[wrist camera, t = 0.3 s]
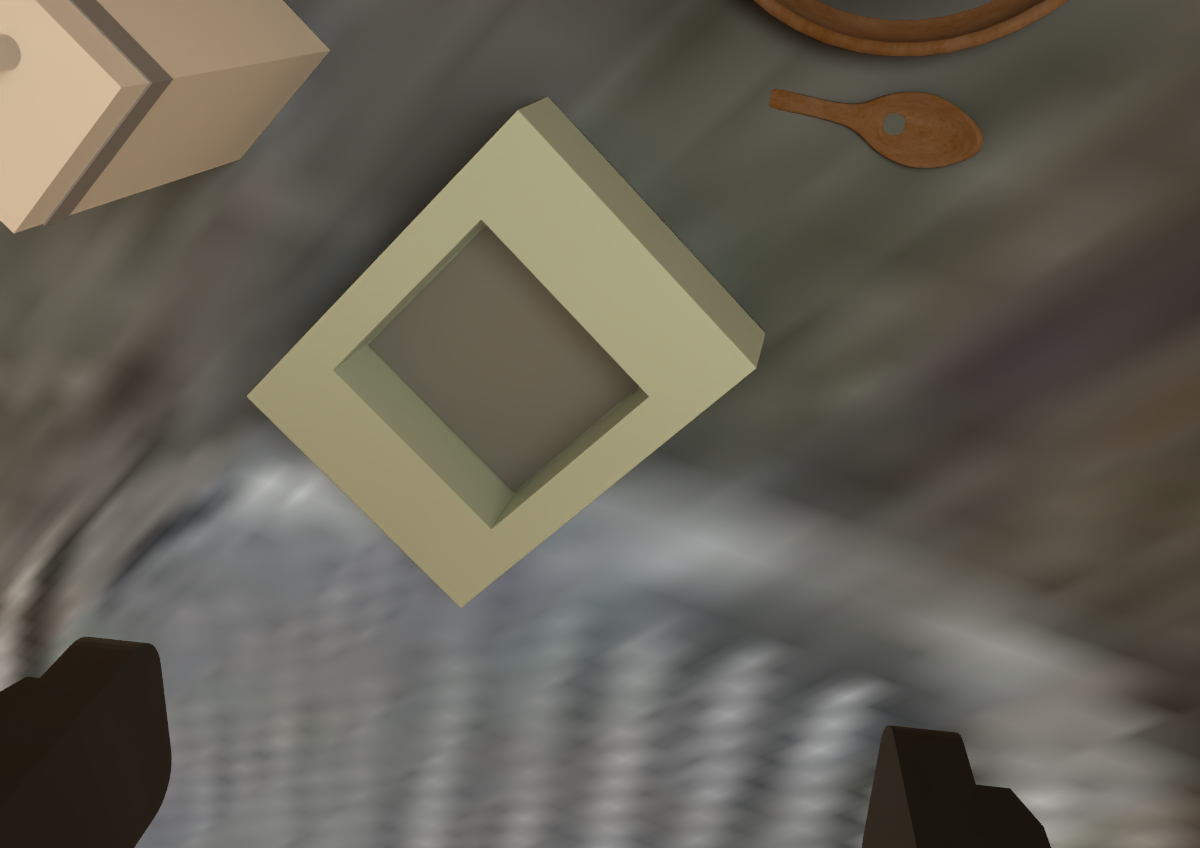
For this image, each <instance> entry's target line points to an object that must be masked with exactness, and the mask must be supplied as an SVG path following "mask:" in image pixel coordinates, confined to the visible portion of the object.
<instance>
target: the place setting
mask: <svg viewBox="0 0 1200 848" xmlns="http://www.w3.org/2000/svg"><path fill="white" fill-rule="evenodd" d="M754 1H755V2H756V3H757V4H759V5H760V6H761V7H762V8H763V9H765V10H766V11H767V12H768V13H769V14H771V15H772V16H774V17H776V18H777V19H779V20H781V21H782V22H784V23H785V24H787V25H789V26H790V27H792V28H793V29H795V30H797V31H799V32H801V33H804V34H806V35H808V36H810V37H813V38H815V39H817V40H819V41H822V42H824V43H827V44H830V45H834V46H837V47H841V48H844V49H848V50H851V51H855V52H862V53H869V54H876V55H884V56H924V55H932V54H940V53H947V52H954V51H958V50H962V49H965V48H969V47H973V46H977V45H981V44H985V43H988V42H990V41H993V40H995V39H998V38H1000V37H1003V36H1005V35H1008V34H1010V33H1013V32H1015V31H1018V30H1020V29H1022V28H1023V27H1025V26H1027V25H1029V24H1031V23H1033V22H1034V21H1036V20H1038V19H1040V18H1042V17H1044V16H1045V15H1047V14H1049V13H1051V12H1052V11H1054V10H1055V9H1056V8H1058V7H1059V6H1061V5H1062V4H1064V3H1065V2H1066V1H1068V0H994V1H992V2H989V3H987V4H984V5H982V6H980V7H977V8H975V9H971V10H968V11H964V12H960V13H957V14H953V15H949V16H945V17H938V18H931V19H924V20H884V19H876V18H868V17H862V16H859V15H855V14H851V13H848V12H844V11H840V10H837V9H835V8H833V7H830V6H828V5H826V4H824V3H821V2H819V1H817V0H754ZM769 106H770V107H772V108H775V109H779V110H783V111H788V112H793V113H798V114H803V115H808V116H812V117H817V118H821V119H825V120H829V121H833V122H836V123H839V124H842V125H844V126H847V127H849V128H851V129H852V130H854V131H856V132H857V133H858V134H859V135H860V136H861V137H862V138H863V139H864V140H865V141H866V142H867V143H868V144H869V145H870V146H871V147H872V148H873V149H875V150H876V151H877V152H879V153H880V154H881V155H883V156H884V157H886V158H888V159H890V160H892V161H894V162H896V163H899V164H901V165H905V166H909V167H914V168H935V167H942V166H947V165H951V164H955V163H958V162H961V161H963V160H966V159H968V158H970V157H972V156H974V155H976V154H977V153H978V152H979V151H980V148H981V146H982V142H983V134H982V132H981V130H980V129H979V127H978V126H977V125H976V123H975V122H974V121H973V120H972V119H971V118H970V117H969V116H968V115H967V114H966V113H965V112H963V111H962V110H961V109H960V108H958V107H957V106H955V105H954V104H952V103H951V102H949V101H947V100H945V99H943V98H941V97H938V96H936V95H933V94H928V93H923V92H901V93H895V94H889V95H885V96H882V97H879V98H876V99H873V100H871V101H867V102H864V103H857V104H849V103H840V102H833V101H828V100H823V99H819V98H815V97H810V96H806V95H802V94H798V93H794V92H789V91H784V90H778V89H774V90H772V93H771V97H770V102H769ZM889 113H898V114H900V115H902V116H904V118H905V120H906V123H905V127H904V130H903V132H902V133H901V134H899V135H889V134H887V133H885V132H884V131H883V122H884V119H885V117H886V116H887V114H889Z"/></svg>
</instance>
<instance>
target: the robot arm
mask: <svg viewBox="0 0 1200 848" xmlns="http://www.w3.org/2000/svg"><path fill="white" fill-rule="evenodd" d="M170 773H171V746H170V738H169V730H168V721H167V713H166V705H165V696H164V688H163V680H162V671H161V663H160V658H159V654H158V652H157V650H156V648H155V647H154V646H153V645H151V644H149V643H140V642H131V641H121V640H112V639H103V638H94V637H82V638H80V639H78V640H76V641H75V642H74V643H73V644H72V645H71V646H70V647H69V648H68V649H67V650H66V651H65V652H64V653H63V654H62V655H61V656H60V657H59V658H58V659H57V661H56V662H55V663H54V664H53V665H52V666H51V667H50V668H49V669H48V670H47V671H46V672H45V673H44V674H43V675H42V676H41V677H40V678H33V677H25V678H23V679H22V680H20V681H18V682H16V683H15V684H13V685H11V686H10V687H8V688H6V689H4V690H3V691H1V692H0V848H134V847H135V846H136V844H137V843H138V841H139V840H140V838H141V837H142V835H143V834H144V832H145V831H146V829H147V828H148V826H149V825H150V823H151V822H152V820H153V819H154V817H155V816H156V814H157V812H158V810H159V808H160V806H161V804H162V802H163V799H164V797H165V794H166V791H167V787H168V783H169V779H170ZM862 848H1051V846H1050V844H1049V841H1048V838H1047V835H1046V832H1045V830H1044V827H1043V826H1042V825H1041V823H1040V822H1039V821H1038V820H1037V819H1036V818H1035V817H1034V815H1033V814H1032V813H1031V812H1030V811H1029V810H1028V809H1027V807H1026V806H1025V805H1024V804H1023V803H1022V802H1021V801H1020V799H1019V798H1018V797H1017V796H1016V795H1015V794H1014V793H1013V791H1012V790H1011V789H1010V788H1001V787H992V786H983V785H976V784H975V780H974V777H973V774H972V770H971V767H970V763H969V760H968V757H967V753H966V750H965V746H964V743H963V740H962V738H961V736H960V735H959V734H958V733H955V732H945V731H936V730H927V729H917V728H908V727H899V726H890V725H888V726H886V728H885V729H884V732H883V735H882V738H881V743H880V748H879V754H878V759H877V765H876V770H875V776H874V781H873V787H872V792H871V797H870V803H869V808H868V814H867V819H866V825H865V830H864V836H863V843H862Z"/></svg>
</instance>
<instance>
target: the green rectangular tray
mask: <svg viewBox="0 0 1200 848" xmlns="http://www.w3.org/2000/svg"><path fill="white" fill-rule="evenodd" d="M764 337H765V333H764V332H763V330H762V329H761V328H760V327H759V326H758V325H757V324H756V323H755V322H754V321H753V320H752V318H751V317H750V316H749V315H748V314H747V313H746V312H745V311H744V310H743V309H742V308H741V306H740V305H739V304H738V303H737V302H736V301H735V300H734V299H733V298H732V297H731V296H730V294H729V293H728V292H727V291H726V290H725V289H724V288H723V287H722V286H721V285H720V284H719V283H718V281H717V280H716V279H715V278H714V277H713V276H712V275H711V274H710V273H709V272H708V271H707V269H706V268H705V267H704V266H703V265H702V264H701V263H700V262H699V261H698V260H697V259H696V257H695V256H694V255H693V254H692V253H691V252H690V251H689V250H688V249H687V248H686V247H685V245H684V244H683V243H682V242H681V241H680V240H679V239H678V238H677V237H676V236H675V235H674V233H673V232H672V231H671V230H670V229H669V228H668V227H667V226H666V225H665V224H664V223H663V221H662V220H661V219H660V218H659V217H658V216H657V215H656V214H655V213H654V212H653V211H652V209H651V208H650V207H649V206H648V205H647V204H646V203H645V202H644V201H643V200H642V199H641V197H640V196H639V195H638V194H637V193H636V192H635V191H634V190H633V189H632V188H631V187H630V186H629V184H628V183H627V182H626V181H625V180H624V179H623V178H622V177H621V176H620V175H619V174H618V172H617V171H616V170H615V169H614V168H613V167H612V166H611V165H610V164H609V163H608V162H607V160H606V159H605V158H604V157H603V156H602V155H601V154H600V153H599V152H598V151H597V150H596V148H595V147H594V146H593V145H592V144H591V143H590V142H589V141H588V140H587V139H586V138H585V136H584V135H583V134H582V133H581V132H580V131H579V130H578V129H577V128H576V127H575V126H574V124H573V123H572V122H571V121H570V120H569V119H568V118H567V117H566V116H565V115H564V114H563V112H562V111H561V110H560V109H559V108H558V107H557V106H556V105H555V104H554V103H553V102H552V100H551V99H550V98H549V97H546V98H544V99H542V100H539V101H537V102H535V103H533V104H530V105H528V106H526V107H524V108H522V109H519V110H518V111H517V112H516V113H515V114H514V115H513V116H512V117H511V118H510V119H509V120H508V121H507V122H506V123H505V124H504V125H503V126H502V127H501V128H500V130H499V131H498V132H497V133H496V134H495V135H494V136H493V137H492V138H491V139H490V140H489V141H488V142H487V143H486V144H485V145H484V146H483V147H482V149H481V150H480V151H479V152H478V153H477V154H476V155H475V156H474V157H473V158H472V159H471V160H470V161H469V162H468V163H467V164H466V165H465V166H464V168H463V169H462V170H461V171H460V172H459V173H458V174H457V175H456V176H455V177H454V178H453V179H452V180H451V181H450V182H449V183H448V184H447V185H446V187H445V188H444V189H443V190H442V191H441V192H440V193H439V194H438V195H437V196H436V197H435V198H434V199H433V200H432V201H431V202H430V203H429V204H428V206H427V207H426V208H425V209H424V210H423V211H422V212H421V213H420V214H419V215H418V216H417V217H416V218H415V219H414V220H413V221H412V222H411V223H410V224H409V226H408V227H407V228H406V229H405V230H404V231H403V232H402V233H401V234H400V235H399V236H398V237H397V238H396V239H395V240H394V241H393V242H392V243H391V245H390V246H389V247H388V248H387V249H386V250H385V251H384V252H383V253H382V254H381V255H380V256H379V257H378V258H377V259H376V260H375V261H374V262H373V264H372V265H371V266H370V267H369V268H368V269H367V270H366V271H365V272H364V273H363V274H362V275H361V276H360V277H359V278H358V279H357V280H356V281H355V283H354V284H353V285H352V286H351V287H350V288H349V289H348V290H347V291H346V292H345V293H344V294H343V295H342V296H341V297H340V298H339V299H338V300H337V301H336V303H335V304H334V305H333V306H332V307H331V308H330V309H329V310H328V311H327V312H326V313H325V314H324V315H323V316H322V317H321V318H320V319H319V320H318V322H317V323H316V324H315V325H314V326H313V327H312V328H311V329H310V330H309V331H308V332H307V333H306V334H305V335H304V336H303V337H302V338H301V339H300V341H299V342H298V343H297V344H296V345H295V346H294V347H293V348H292V349H291V350H290V351H289V352H288V353H287V354H286V355H285V356H284V357H283V358H282V360H281V361H280V362H279V363H278V364H277V365H276V366H275V367H274V368H273V369H272V370H271V371H270V372H269V373H268V374H267V375H266V376H265V377H264V378H263V380H262V381H261V382H260V383H259V384H258V385H257V386H256V387H255V388H254V389H253V390H252V391H251V392H250V393H249V394H248V395H247V397H248V398H249V399H250V400H251V401H252V402H253V403H254V404H255V405H256V406H257V407H258V408H259V409H260V410H261V411H262V412H263V413H264V414H265V415H266V416H267V417H268V418H269V419H270V420H271V421H272V422H273V423H274V424H275V425H276V426H277V427H278V428H279V429H280V430H281V431H282V432H283V433H284V434H285V435H286V436H287V437H288V438H289V439H290V440H291V441H292V442H293V443H294V444H295V445H296V446H297V447H298V448H299V449H300V450H301V451H302V452H303V453H304V454H305V455H306V456H307V457H308V458H309V459H310V460H311V461H312V462H313V463H315V464H316V465H317V466H318V467H319V468H320V469H321V470H322V471H323V472H324V473H325V474H326V475H327V476H328V477H329V478H330V479H331V480H332V481H333V482H334V483H335V484H336V485H337V486H338V487H339V488H340V489H341V490H342V491H343V492H344V493H345V494H346V495H347V496H348V497H349V498H350V499H351V500H352V501H353V502H354V503H355V504H356V505H357V506H358V507H359V508H360V509H361V510H362V511H363V512H364V513H365V514H366V515H367V516H368V517H369V518H370V519H371V520H372V521H373V522H374V523H375V524H376V525H377V526H378V527H379V528H380V529H381V530H382V531H383V532H384V533H385V534H386V535H387V536H389V537H390V538H391V539H392V540H393V541H394V542H395V543H396V544H397V545H398V546H399V547H400V548H401V549H402V550H403V551H404V552H405V553H406V554H407V555H408V556H409V557H410V558H411V559H412V560H413V561H414V562H415V563H416V564H417V565H418V566H419V567H420V568H421V569H422V570H423V571H424V572H425V573H426V574H427V575H428V576H429V577H430V578H431V579H432V580H433V581H434V582H435V583H436V584H437V585H438V586H439V587H440V588H441V589H442V590H443V591H444V592H445V593H446V594H447V595H448V596H449V597H450V598H451V599H452V600H453V601H454V602H455V603H456V604H457V605H458V606H459V607H460V608H461V607H463V606H464V605H465V604H466V603H468V602H469V601H470V600H471V599H472V598H474V597H475V596H476V595H477V594H479V593H480V592H481V591H482V590H484V589H485V588H486V587H487V586H488V585H490V584H491V583H492V582H493V581H495V580H496V579H497V578H498V577H500V576H501V575H502V574H503V573H504V572H506V571H507V570H508V569H509V568H511V567H512V566H513V565H514V564H516V563H517V562H518V561H519V560H521V559H522V558H523V557H524V556H525V555H527V554H528V553H529V552H530V551H532V550H533V549H534V548H535V547H537V546H538V545H539V544H540V543H541V542H543V541H544V540H545V539H546V538H548V537H549V536H550V535H551V534H553V533H554V532H555V531H556V530H557V529H559V528H560V527H561V526H562V525H564V524H565V523H566V522H567V521H569V520H570V519H571V518H572V517H573V516H575V515H576V514H577V513H578V512H580V511H581V510H582V509H583V508H585V507H586V506H587V505H588V504H589V503H591V502H592V501H593V500H594V499H596V498H597V497H598V496H599V495H601V494H602V493H603V492H604V491H606V490H607V489H608V488H609V487H610V486H612V485H613V484H614V483H615V482H617V481H618V480H619V479H620V478H622V477H623V476H624V475H625V474H626V473H628V472H629V471H630V470H631V469H633V468H634V467H635V466H636V465H638V464H639V463H640V462H641V461H642V460H644V459H645V458H646V457H647V456H649V455H650V454H651V453H652V452H654V451H655V450H656V449H657V448H658V447H660V446H661V445H662V444H663V443H665V442H666V441H667V440H668V439H670V438H671V437H672V436H673V435H674V434H676V433H677V432H678V431H679V430H681V429H682V428H683V427H684V426H686V425H687V424H688V423H689V422H691V421H692V420H693V419H694V418H695V417H697V416H698V415H699V414H700V413H702V412H703V411H704V410H705V409H707V408H708V407H709V406H710V405H711V404H713V403H714V402H715V401H716V400H718V399H719V398H720V397H721V396H723V395H724V394H725V393H726V392H727V391H729V390H730V389H731V388H732V387H734V386H735V385H736V384H737V383H739V382H740V381H741V380H742V379H743V378H745V377H746V376H747V375H748V374H750V373H751V372H752V371H753V370H755V369H756V368H757V364H758V360H759V356H760V352H761V348H762V345H763V341H764Z"/></svg>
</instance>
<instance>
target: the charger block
mask: <svg viewBox="0 0 1200 848" xmlns="http://www.w3.org/2000/svg"><path fill="white" fill-rule="evenodd" d="M329 52H330V50H329V49H328V48H327V47H326V45H325V44H324V43H323V42H322V41H321V40H320V39H319V38H318V37H317V36H316V35H315V34H314V33H313V32H312V31H311V30H310V29H309V27H308V26H307V25H306V24H305V23H304V22H303V21H302V20H301V19H300V18H299V17H298V16H297V15H296V14H295V13H294V12H293V11H292V9H291V8H290V7H289V6H288V5H287V4H286V3H285V2H284V1H283V0H0V221H1V222H2V223H4V224H5V225H6V226H7V227H8V228H9V229H10V230H11V231H12V232H13V233H17V232H20V231H23V230H26V229H29V228H32V227H35V226H38V225H41V224H42V225H43V226H44V227H45V226H48V225H51V224H54V223H57V222H60V221H63V220H66V219H67V218H68V217H69V215H72V214H75V213H78V212H81V211H84V210H87V209H90V208H93V207H96V206H99V205H103V204H106V203H109V202H112V201H115V200H118V199H121V198H124V197H127V196H130V195H133V194H136V193H139V192H142V191H145V190H148V189H152V188H155V187H158V186H161V185H164V184H167V183H170V182H173V181H176V180H179V179H182V178H185V177H188V176H191V175H194V174H197V173H200V172H204V171H207V170H210V169H213V168H216V167H219V166H222V165H225V164H228V163H231V162H234V161H237V160H240V159H241V158H242V157H243V155H244V154H245V153H246V152H247V151H248V149H249V148H250V147H251V146H252V145H253V143H254V142H255V141H256V140H257V139H258V137H259V136H260V135H261V134H262V132H263V131H264V130H265V129H266V128H267V126H268V125H269V124H270V123H271V122H272V120H273V119H274V118H275V117H276V116H277V114H278V113H279V112H280V111H281V110H282V108H283V107H284V106H285V105H286V103H287V102H288V101H289V100H290V99H291V97H292V96H293V95H294V94H295V93H296V91H297V90H298V89H299V88H300V87H301V85H302V84H303V83H304V82H305V81H306V79H307V78H308V77H309V76H310V74H311V73H312V72H313V71H314V70H315V68H316V67H317V66H318V65H319V64H320V62H321V61H322V60H323V59H324V58H325V56H326V55H327V54H328V53H329Z"/></svg>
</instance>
